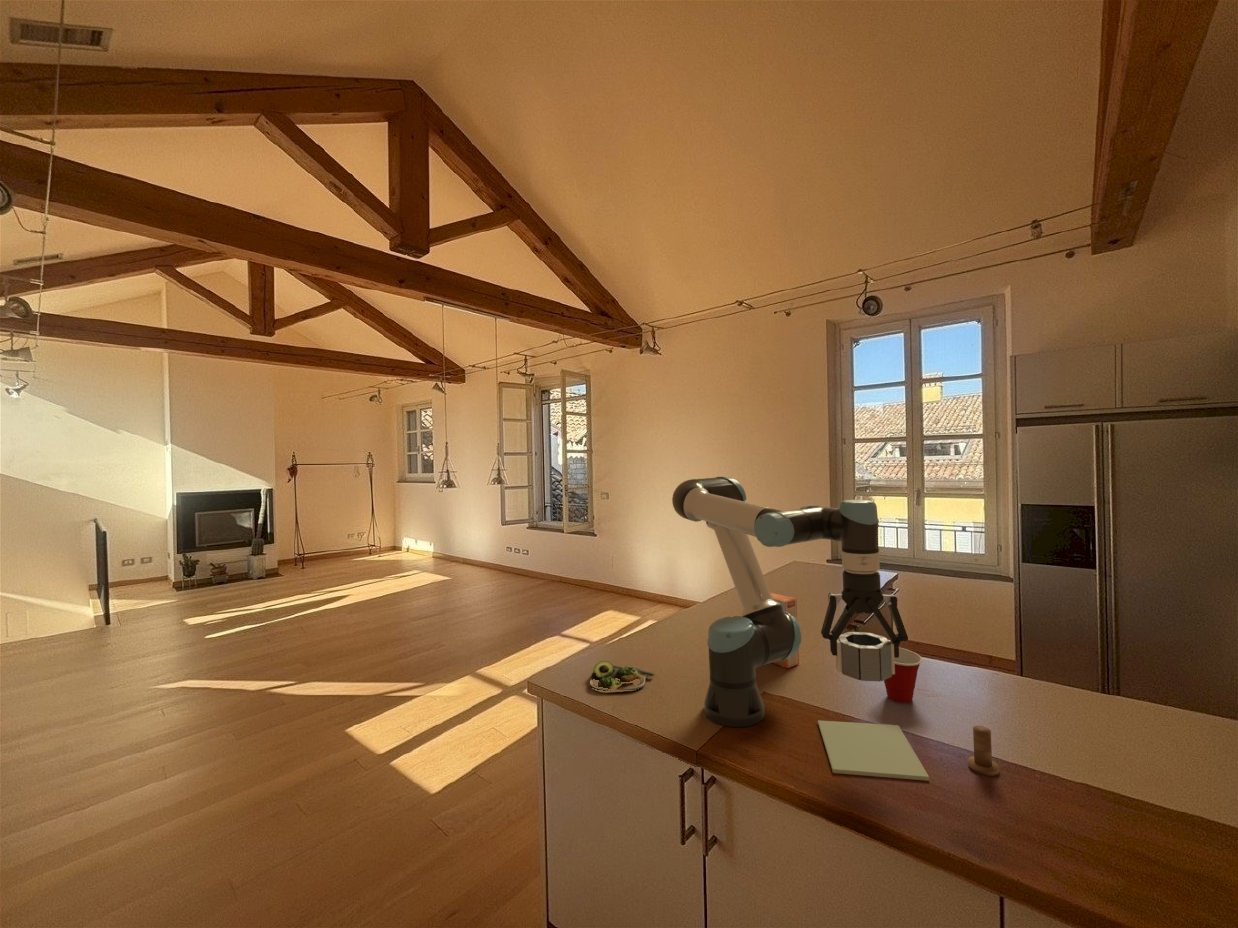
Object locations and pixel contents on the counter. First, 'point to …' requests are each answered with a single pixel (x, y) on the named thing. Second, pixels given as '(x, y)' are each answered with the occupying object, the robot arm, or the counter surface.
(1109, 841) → the counter surface
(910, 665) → the plastic cup
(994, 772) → the tan peg with base
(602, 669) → the salad plate
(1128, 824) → the counter surface
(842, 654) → the grey hollow octagonal ring
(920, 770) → the sage mat
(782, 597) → the cracker box
